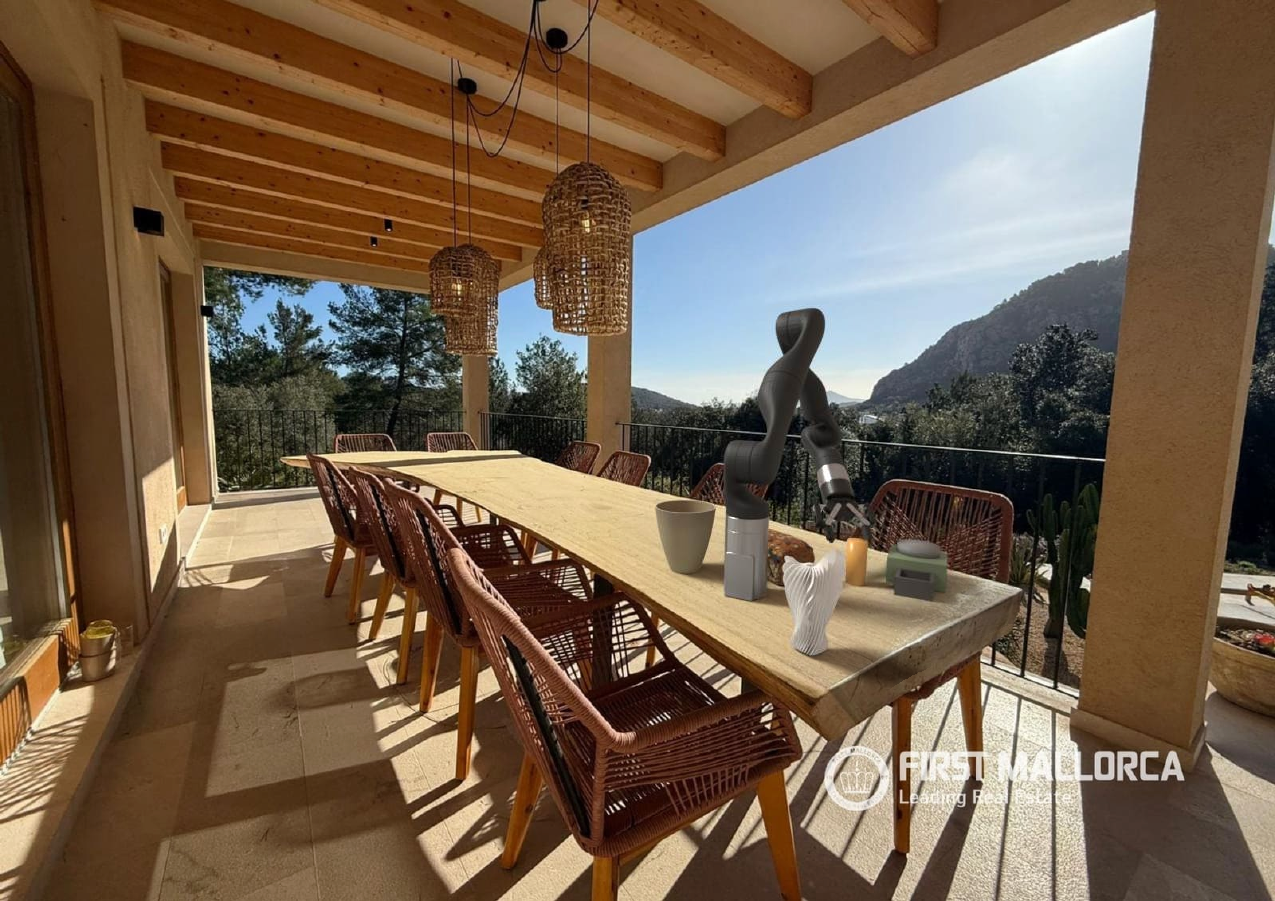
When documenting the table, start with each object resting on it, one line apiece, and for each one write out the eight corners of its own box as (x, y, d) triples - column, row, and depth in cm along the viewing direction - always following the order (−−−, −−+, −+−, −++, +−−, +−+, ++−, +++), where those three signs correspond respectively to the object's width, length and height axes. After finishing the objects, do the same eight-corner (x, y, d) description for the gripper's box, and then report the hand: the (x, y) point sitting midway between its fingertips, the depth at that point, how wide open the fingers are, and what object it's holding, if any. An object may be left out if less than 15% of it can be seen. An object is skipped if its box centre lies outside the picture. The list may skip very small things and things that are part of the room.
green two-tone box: (945, 603, 109) (948, 566, 108) (882, 592, 115) (884, 557, 114) (945, 576, 126) (947, 543, 125) (890, 567, 132) (892, 536, 131)
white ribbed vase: (773, 646, 90) (777, 544, 88) (805, 635, 94) (810, 538, 92) (812, 668, 83) (817, 558, 81) (845, 655, 87) (851, 550, 85)
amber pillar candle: (864, 587, 118) (866, 544, 117) (843, 583, 120) (845, 541, 119) (866, 581, 122) (869, 539, 121) (846, 578, 124) (848, 536, 123)
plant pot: (680, 555, 140) (681, 497, 138) (726, 568, 130) (728, 505, 128) (641, 568, 130) (642, 505, 128) (688, 584, 119) (690, 515, 118)
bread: (815, 583, 121) (816, 541, 120) (775, 588, 118) (776, 545, 117) (770, 558, 139) (771, 522, 137) (734, 562, 135) (735, 524, 134)
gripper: (810, 476, 131) (824, 533, 121) (867, 477, 131) (886, 534, 121) (803, 493, 137) (816, 549, 127) (857, 494, 137) (875, 549, 127)
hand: (850, 541), depth 124 cm, fingers open, 8 cm apart
